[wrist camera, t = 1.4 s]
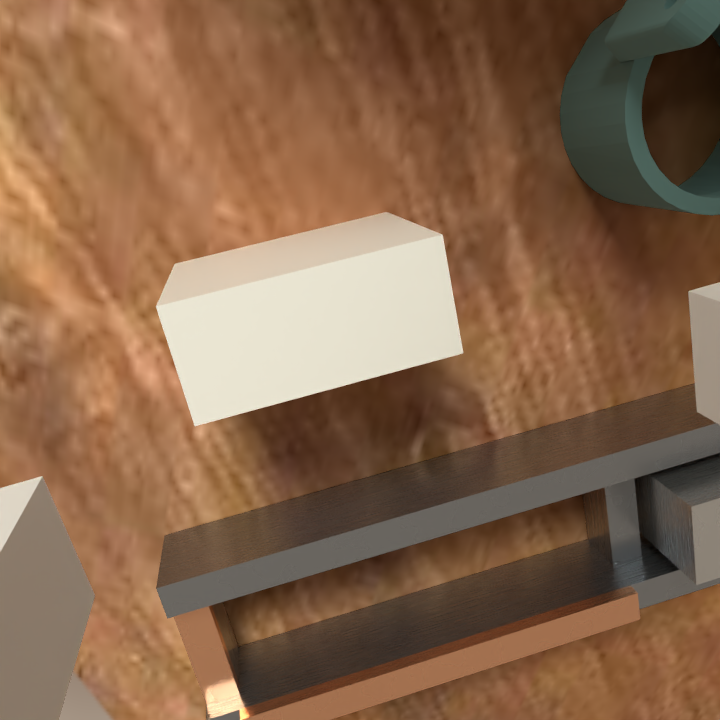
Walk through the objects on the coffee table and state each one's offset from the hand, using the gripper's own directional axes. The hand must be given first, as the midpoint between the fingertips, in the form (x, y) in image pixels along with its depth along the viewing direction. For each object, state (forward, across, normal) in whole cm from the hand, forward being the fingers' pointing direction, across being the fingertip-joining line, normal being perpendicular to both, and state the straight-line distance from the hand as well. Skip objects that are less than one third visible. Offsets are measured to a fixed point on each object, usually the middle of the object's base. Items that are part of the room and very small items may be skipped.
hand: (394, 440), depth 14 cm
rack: (+16, +8, -14) cm, 23 cm away
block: (+17, 0, 0) cm, 17 cm away
